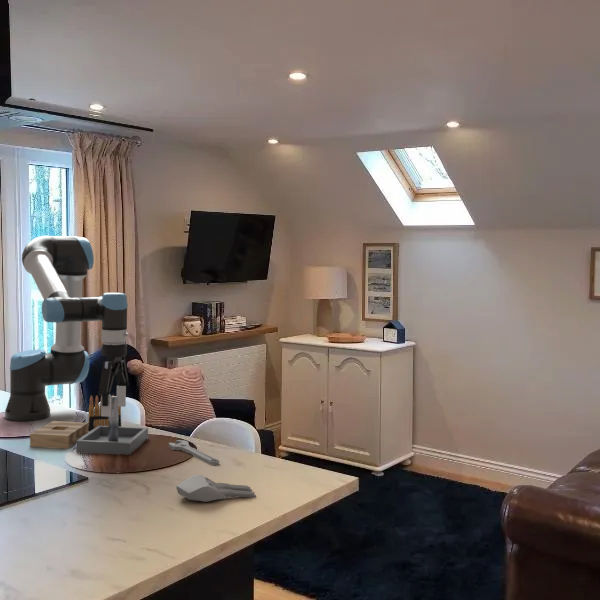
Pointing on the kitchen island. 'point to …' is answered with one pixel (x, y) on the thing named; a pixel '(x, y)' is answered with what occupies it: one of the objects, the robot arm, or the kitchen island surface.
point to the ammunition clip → (95, 415)
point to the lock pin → (113, 420)
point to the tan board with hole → (58, 434)
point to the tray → (99, 441)
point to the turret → (211, 489)
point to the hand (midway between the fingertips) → (113, 411)
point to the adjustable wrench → (193, 452)
